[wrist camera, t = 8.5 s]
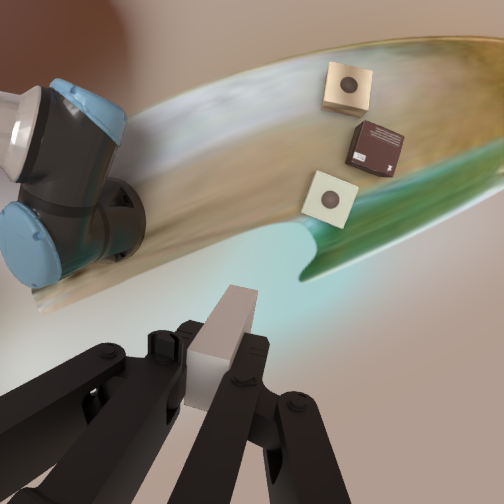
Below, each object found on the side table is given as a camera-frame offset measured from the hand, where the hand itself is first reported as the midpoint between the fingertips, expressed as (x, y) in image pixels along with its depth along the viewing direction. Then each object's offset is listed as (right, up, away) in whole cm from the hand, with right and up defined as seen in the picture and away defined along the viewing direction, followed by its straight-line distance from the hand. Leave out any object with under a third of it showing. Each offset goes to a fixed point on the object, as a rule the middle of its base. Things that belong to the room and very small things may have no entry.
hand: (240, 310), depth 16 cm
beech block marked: (+14, +27, +25) cm, 39 cm away
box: (+18, +18, +27) cm, 37 cm away
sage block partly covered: (+12, +11, +29) cm, 33 cm away
